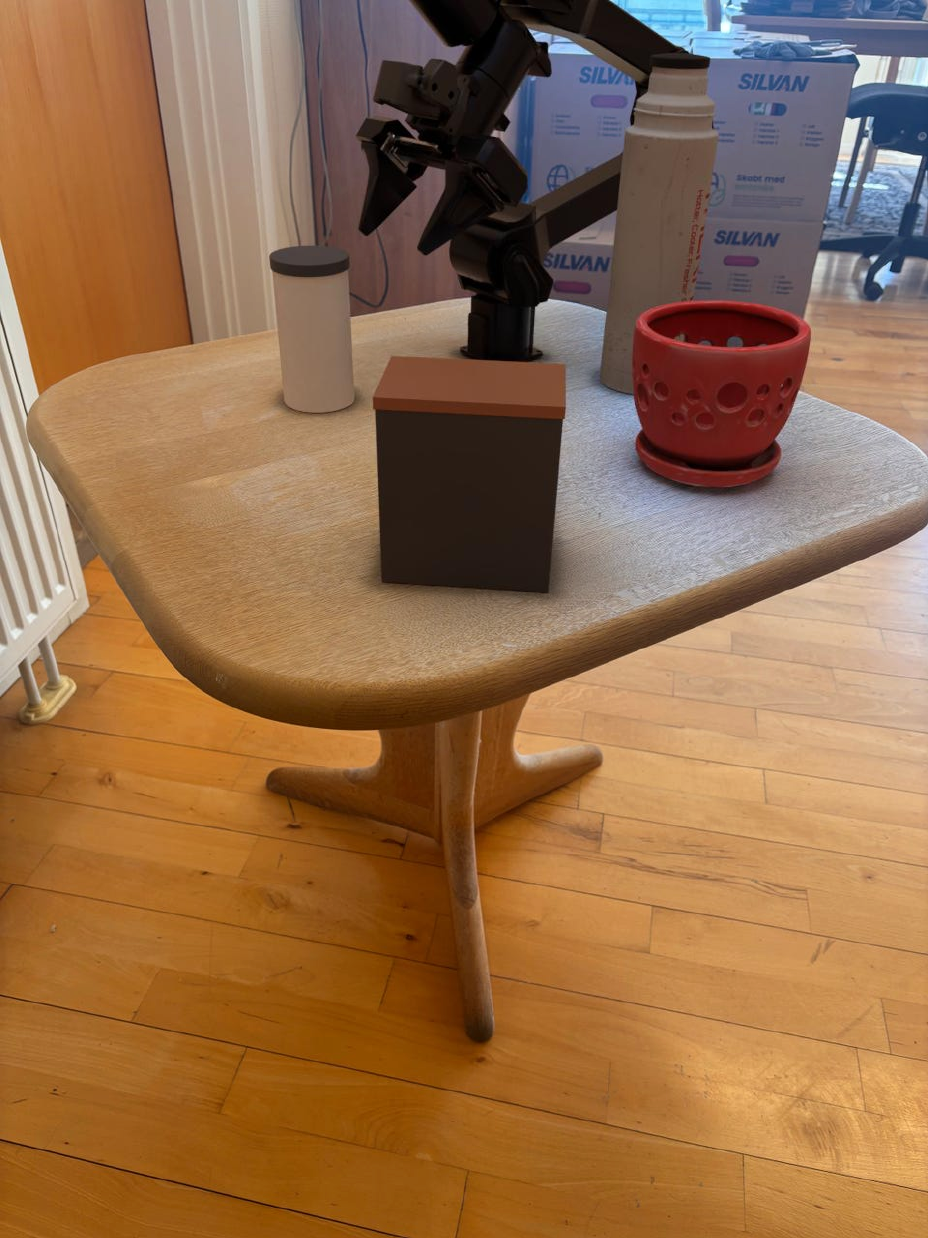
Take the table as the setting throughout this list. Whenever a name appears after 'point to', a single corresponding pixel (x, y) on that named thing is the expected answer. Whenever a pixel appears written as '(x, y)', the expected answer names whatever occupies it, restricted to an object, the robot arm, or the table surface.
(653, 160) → the thermos bottle
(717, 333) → the flower pot
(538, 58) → the robot arm
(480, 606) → the table surface
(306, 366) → the container
